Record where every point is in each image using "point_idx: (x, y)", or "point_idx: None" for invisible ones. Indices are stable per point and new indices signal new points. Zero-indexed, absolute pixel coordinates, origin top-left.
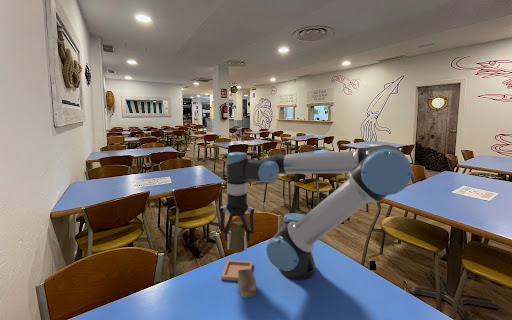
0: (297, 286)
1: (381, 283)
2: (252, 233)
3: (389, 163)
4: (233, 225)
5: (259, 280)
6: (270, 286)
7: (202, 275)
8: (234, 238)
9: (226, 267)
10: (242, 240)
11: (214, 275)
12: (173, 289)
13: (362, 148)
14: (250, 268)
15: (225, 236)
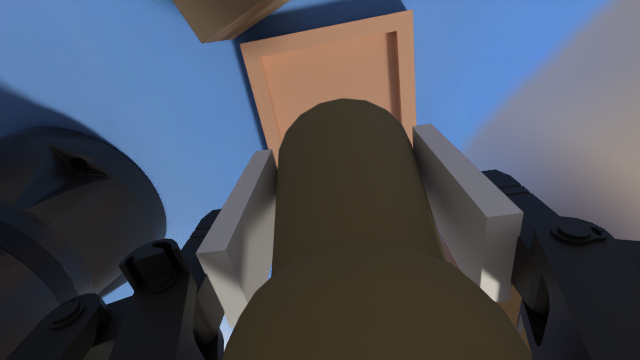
0: (7, 79)
1: None
2: (85, 295)
3: None
4: None
5: (200, 69)
6: (125, 37)
7: (534, 15)
8: (373, 176)
9: (404, 104)
10: (276, 202)
11: (458, 38)
12: None
13: None
14: (269, 132)
15: (526, 198)
